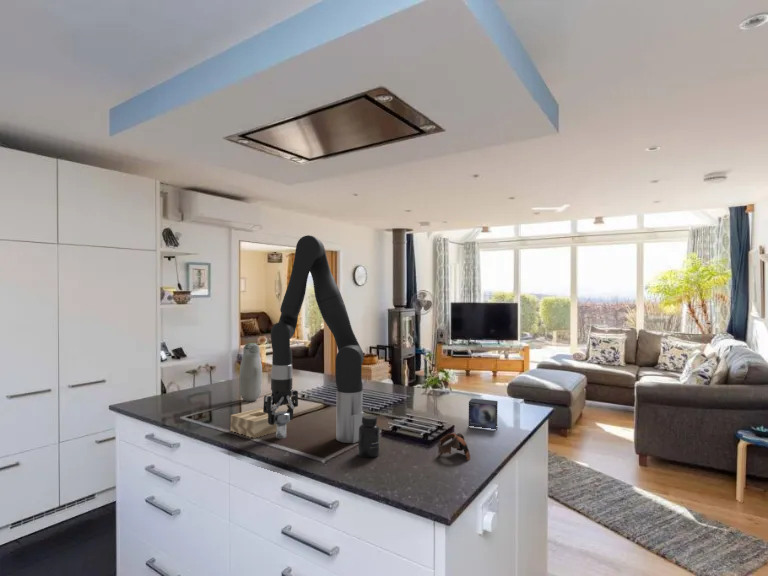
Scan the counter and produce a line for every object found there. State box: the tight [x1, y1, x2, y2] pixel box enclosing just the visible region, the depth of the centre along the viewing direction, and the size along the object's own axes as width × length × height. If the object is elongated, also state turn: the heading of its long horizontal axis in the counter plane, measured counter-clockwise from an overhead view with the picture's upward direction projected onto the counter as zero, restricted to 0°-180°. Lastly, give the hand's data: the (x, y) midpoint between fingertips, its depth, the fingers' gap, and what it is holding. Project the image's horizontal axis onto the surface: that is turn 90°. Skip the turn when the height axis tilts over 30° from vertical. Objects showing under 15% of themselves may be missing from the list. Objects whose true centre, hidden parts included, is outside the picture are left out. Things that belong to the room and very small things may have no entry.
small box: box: [468, 398, 499, 430], centre depth 169 cm, size 11×6×10 cm, turn 68°
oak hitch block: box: [230, 407, 278, 439], centre depth 163 cm, size 14×14×6 cm
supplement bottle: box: [357, 414, 381, 459], centre depth 139 cm, size 7×7×12 cm
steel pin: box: [274, 410, 291, 439], centre depth 156 cm, size 6×6×8 cm
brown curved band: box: [436, 432, 471, 461], centre depth 139 cm, size 12×10×8 cm
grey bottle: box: [239, 342, 263, 402], centre depth 210 cm, size 10×10×28 cm
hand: (280, 422), depth 156 cm, fingers open, 8 cm apart
